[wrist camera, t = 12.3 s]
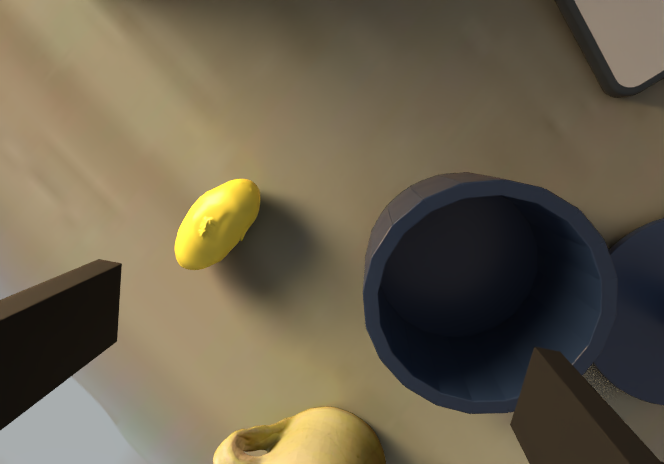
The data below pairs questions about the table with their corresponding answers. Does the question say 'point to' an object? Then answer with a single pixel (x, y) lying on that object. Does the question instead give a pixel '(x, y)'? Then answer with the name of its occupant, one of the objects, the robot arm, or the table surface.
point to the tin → (484, 288)
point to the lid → (638, 316)
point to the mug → (305, 441)
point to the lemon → (216, 223)
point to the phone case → (619, 41)
